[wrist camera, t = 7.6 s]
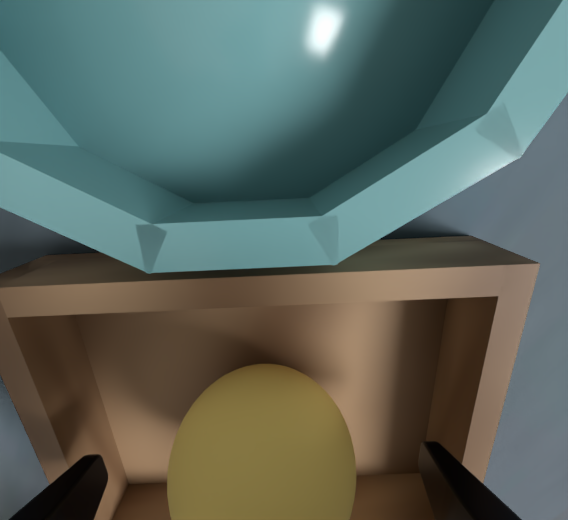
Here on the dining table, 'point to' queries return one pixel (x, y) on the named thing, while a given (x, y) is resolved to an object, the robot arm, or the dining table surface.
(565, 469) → the dining table surface
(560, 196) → the dining table surface
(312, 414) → the ball
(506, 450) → the dining table surface
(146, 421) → the tray
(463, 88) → the bowl
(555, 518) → the dining table surface
